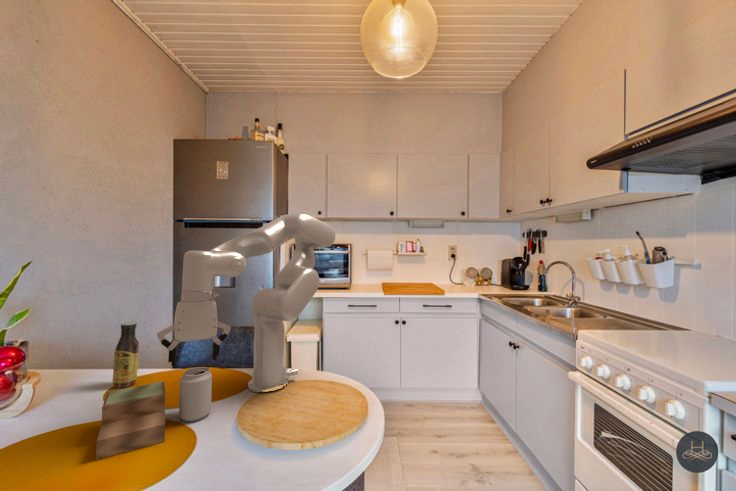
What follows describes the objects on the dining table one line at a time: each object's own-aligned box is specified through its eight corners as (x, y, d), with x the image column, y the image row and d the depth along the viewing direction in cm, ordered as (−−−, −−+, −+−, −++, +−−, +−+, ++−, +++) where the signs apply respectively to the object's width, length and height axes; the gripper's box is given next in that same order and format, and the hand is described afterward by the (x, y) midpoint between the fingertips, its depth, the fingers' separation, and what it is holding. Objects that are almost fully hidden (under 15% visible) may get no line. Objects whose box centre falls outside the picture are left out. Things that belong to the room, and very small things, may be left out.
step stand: (163, 411, 85) (164, 380, 85) (164, 441, 72) (165, 405, 72) (106, 424, 79) (107, 391, 79) (96, 460, 65) (97, 420, 65)
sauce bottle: (107, 388, 99) (109, 325, 99) (125, 380, 105) (127, 320, 105) (125, 389, 98) (127, 326, 98) (142, 381, 104) (144, 321, 104)
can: (197, 425, 79) (198, 377, 79) (171, 421, 80) (173, 374, 81) (217, 410, 86) (218, 366, 86) (193, 407, 88) (194, 364, 88)
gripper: (229, 293, 92) (226, 353, 91) (158, 296, 82) (155, 362, 81) (235, 297, 85) (231, 360, 85) (158, 300, 76) (154, 371, 75)
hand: (194, 361), depth 83 cm, fingers open, 9 cm apart
